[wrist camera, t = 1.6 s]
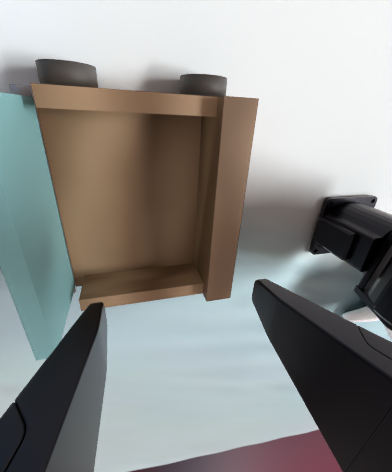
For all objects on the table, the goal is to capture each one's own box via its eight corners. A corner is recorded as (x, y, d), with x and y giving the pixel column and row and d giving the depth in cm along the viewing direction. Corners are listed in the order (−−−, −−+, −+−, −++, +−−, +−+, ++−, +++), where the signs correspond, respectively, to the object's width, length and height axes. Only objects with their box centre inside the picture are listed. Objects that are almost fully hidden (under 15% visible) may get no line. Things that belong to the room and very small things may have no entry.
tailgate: (32, 86, 13) (-37, 68, 8) (77, 287, 20) (58, 362, 14) (12, 85, 13) (-78, 65, 7) (63, 289, 19) (38, 366, 14)
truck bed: (224, 82, 17) (262, 72, 13) (208, 271, 25) (228, 309, 20) (34, 65, 14) (-9, 43, 9) (81, 286, 22) (69, 335, 17)
